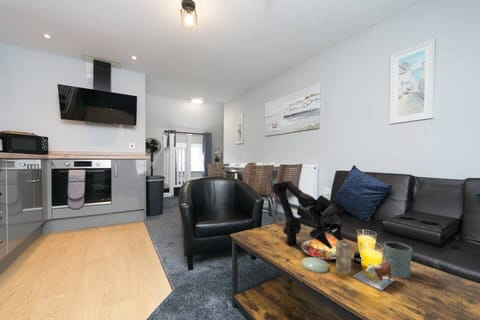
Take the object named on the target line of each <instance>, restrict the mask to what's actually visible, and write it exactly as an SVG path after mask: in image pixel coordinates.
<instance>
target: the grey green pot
mask: <svg viewBox="0 0 480 320" xmlns="http://www.w3.org/2000/svg"><path fill="white" fill-rule="evenodd" d="M383 249H384V260H385V262H388V264H390V266H391V272H390V273H391V276H392V275H393V276H395V277H398V278H401V279H402V278H403V279H407V278H410V277H411V273H412V270H411V265H412V262H411V261H412V257H413V255H412V254H413V248H412V246H409V245H407V244H404V243H401V242H398V241H397V242H396V241H384V242H383Z"/></svg>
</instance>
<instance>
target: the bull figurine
mask: <svg viewBox="0 0 480 320" xmlns="http://www.w3.org/2000/svg"><path fill="white" fill-rule="evenodd" d="M365 271H366V273H369V274H371V275H372V276H373V278H374V281H373V283H375V284H377V283H378V285H377V286H378V287H379V286H381V287H382V281H383V277H386V276H388V279H387V281H388V282H392V278H391V277H392V274H391V273H390V272H391V266H390V264H388V262H386V261H385V262H384V261H383V262H381V264H380V263H379V264H375V265H373V264H371V265H370V264H369V266H368V267H366V269H365Z"/></svg>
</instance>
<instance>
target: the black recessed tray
mask: <svg viewBox="0 0 480 320" xmlns="http://www.w3.org/2000/svg"><path fill="white" fill-rule="evenodd" d="M360 253H361V252H356V251H355V252H354V255H353V257H351V264H356V265H359V266H362V265H361V257H360Z"/></svg>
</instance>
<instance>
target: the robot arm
mask: <svg viewBox="0 0 480 320" xmlns="http://www.w3.org/2000/svg"><path fill="white" fill-rule="evenodd" d="M272 191H273V192H274V194H275V195H276V196H277V197H278V199H279V201H280V204H281V207H282V210H283V213H284V216H285V223H284V224H285V227H284V228H283V230H282V231H283V234H285V235H286V240H284V243H285V244H286V245H287V246H288V247H292V246H298V245H300V244H299V243H298V242H297V239H298V238H297V234H300V232H301V229H302V223H301V222H300V219H299V217H296V216H295V215H294V212H293V210H292V206H291V205H290V202H289V199H288V197H287V191H288V192H290V193H291V194H292V195H293V196H294V197H295V198H296V199H297V202H298V203H299V204H300V206H301V207H302V208H305V215H306V216H307V215H309V216H310V217H311V219H312V220H313V222H312V224H313V225H316V227H314V228H313V229H311V231H310V232H309V235H310V237H311V238H312V239H314V240H316V241H319V242H320V243H321V244H323V245H324V246H325V247H326V248H328V249H330V250H331V249H333V247H332V245H331V243H330V241H329V239H328V238H327V236H326V235H327V234H326V233H327V232H330V233H331V235H332V236H333V237H334V238H335V239H336V240H337V241H340V240H344V238H343V235H342V229H343V227H344V226H343V223H342V222H340V221H339V220H340V217H339V215H337V214H336V213H333V214H332V213H331V215H330V216H327V215H324V213H325V212H326V211H327V210H328V209H329V208H330V207H331V206H332V201H331V200H330V199H328V198H327V197H325V196H324V195H319V196H318V197H317V199H315V197H314V196H312V195H310V194H308V193H305V192H303V191H302V190H301V189H300V188H299V187H297V186H296V185H295V184H293V182H292V181H291V180H286V181H285V180H284V181H282V182H274V183H273V185H272ZM307 208H308V209H307Z"/></svg>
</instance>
